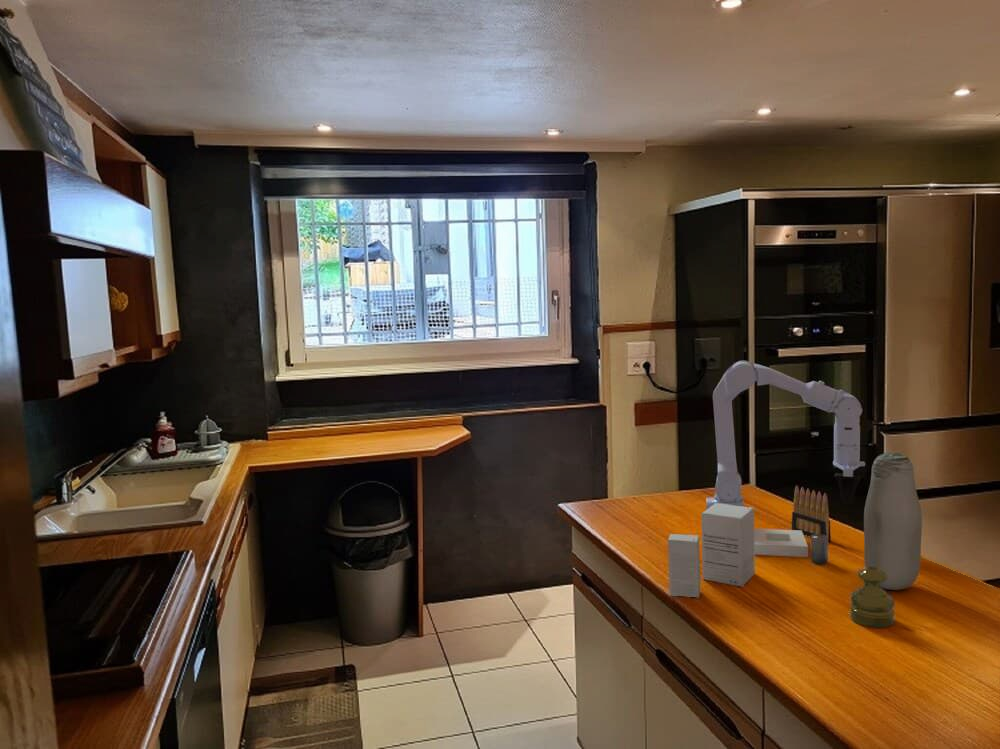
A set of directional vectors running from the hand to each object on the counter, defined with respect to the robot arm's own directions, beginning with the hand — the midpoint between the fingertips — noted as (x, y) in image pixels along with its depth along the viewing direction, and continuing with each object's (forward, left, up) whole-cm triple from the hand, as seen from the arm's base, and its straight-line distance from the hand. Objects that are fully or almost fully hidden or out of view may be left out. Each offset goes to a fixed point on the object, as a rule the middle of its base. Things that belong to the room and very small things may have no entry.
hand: (846, 498), depth 183 cm
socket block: (-16, -8, -10) cm, 21 cm away
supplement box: (-28, -29, -10) cm, 42 cm away
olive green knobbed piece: (-3, -47, -10) cm, 49 cm away
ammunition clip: (-8, +2, -10) cm, 13 cm away
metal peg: (-8, -17, -10) cm, 22 cm away
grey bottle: (+4, -30, -10) cm, 32 cm away
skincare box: (-37, -40, -10) cm, 56 cm away
